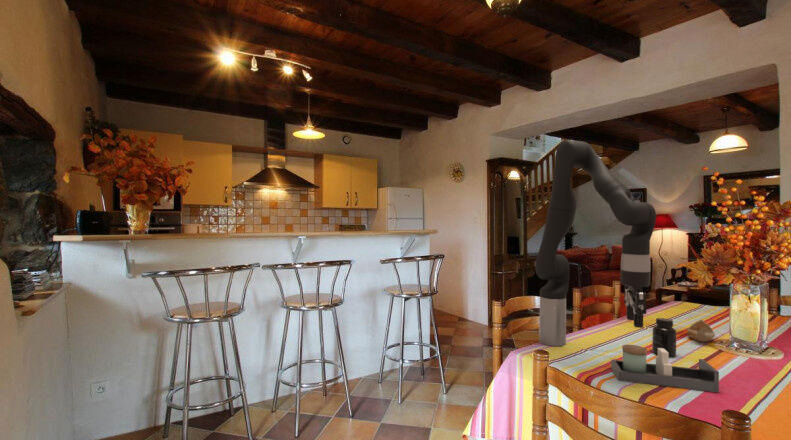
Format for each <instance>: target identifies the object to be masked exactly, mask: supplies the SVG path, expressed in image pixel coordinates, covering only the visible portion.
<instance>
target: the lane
mask: <svg viewBox="0 0 791 440" xmlns="http://www.w3.org/2000/svg"><path fill="white" fill-rule="evenodd" d="M610 367H611V370H612V372H613V371H614V372H613V374H614V373H615V374H614V375H615V377H616V379H617V380H618V381H622V382H629V383H639V384H644V385H645V384H646V385H655V386H661V387H662V386H663V387H670V388H678V389H686V390H693V391H695V390H696V391H702V392H709V393H710V392H711V393H719V391H720V390H719V389H720V388H719V387H720V384H719V382H720V372H719V371H718V370H717V369H716V368H714V367H713V366H712V365H711V364H710V363H708V361H706V360H705V359H703V358H699V359H698V368H693V367H685V366H674V365H672V376H665V375H658V374H657V373H656V363H649V362H648V363H647V362H646V373H639V372H630V371H623V359H622V360H621V359H610Z"/></svg>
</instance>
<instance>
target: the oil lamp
mask: <svg viewBox="0 0 791 440" xmlns="http://www.w3.org/2000/svg"><path fill="white" fill-rule="evenodd" d="M686 332H687V334H688V336H689V337H690V338H691V339H692V340H694V341H697V342H703V343H704V342H705V343H707V342H710V341H712V340H713V339H714V338H715V335H716V332H714V330H713V328H712V327H711V326H710V325H709V324H708V323H707V322H705V321H704V320H703V319H700V320H698V321H696V322H694V323H693V324H691V325H690V326H689V327H686Z"/></svg>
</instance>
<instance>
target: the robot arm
mask: <svg viewBox="0 0 791 440" xmlns="http://www.w3.org/2000/svg"><path fill="white" fill-rule="evenodd" d="M553 167H554V169H553V180H552V187H551V191H550V192H551V193H550V198H549V203H548V208H547V214H546V220H545V225H544V229H543V230H544V231H543V234H542V240H541V243H540V246H539V251H538V252H537V255H536V260H535V274H536V275H537V276H538V278H539V279H541V280H548V281H547V283H546V284H545V285H544V286H543V287H541V288H540V290H539V316H538V317H539V319H538V320H539V322H538V323H539V324H538V325H539V327H538V328H539V329H538V333H539V334H538V338H539V339H538V340H539V341H538V342H539V344H543V345H545V346H551V347H562V346H563V347H564V346H566V344H567V342H566V341H567V294H568V291H569V286H570V274H571V273H570V270H571V269H570V262H569V261H568V258H567V257H566V256H564V255H563V254H560V253H558V249H559V246H560V244H561V242H562V240H563V239H564V237H565V236H566V235H567V233H569V231H570V230H571V228H572V226H573V224H574V222H575V221H574V220H575V216H576V211H577V198H576V197H575V193H574V191H573V187H572V175H573V174H572V173H573V169H574V168H580V169H582V170H583V171H584V172H586V173H587V174H588V175H589V176H590V178H591V181H592V184H593V187H594V189H595V191H596V192H597V193H598V194H599V196H600V197H601V198H602V199H603V200H604V201H605V202H606V203H607V204H608V205H609V208H610V210H611V211H612V213H613V215H614V217H615V218H616V220H617V221H618V222H619V223H620V224H623V225H625V226H629V227H631V230H630V232H629V233H627V234H624V235H623V237H622V241H621V242H622V243H621V259H620V284H621V285H623V286H624V300H623V301H624V302H623V303H624V304H625V307H626V319H627V321H628V320H629V321H633V326H634V328H640V329H641V328H644V315H646V314H647V312H648V311H647V292H643V288H646V287H647V288H648V287H650V286H651V266H652V265H651V257H650V252H651V251H650V249H651V247H650V246H651V245H650V244H651V238H652V236H653V232H654V230H655V229H654V228H655V225H656V221H657V212H656V209H655V207H654V206H653V205H652V204H651V203H649V202H645V201H644V202H642V201H641V202H639V201H632V200H631V197H632V192H631V191H630V189H629V188H628V187H627V186H626V184H624V183H623V182H622V181H621V180H620V179H619V178H617V177H616V176H615V175H614V174H613V173H612V172H611V171H610V169H609V168H608V167H607V166H606V164H605V163H604V162H603V160H602V159H601V157H600V156H599V155H598V153H597V152H596V151H595V149H594V148H593V147H592V146H591V145H590V144H589V143H588V142H585V141H582V140H581V141H580V140H573V139H565V140H562V141H561V142H560V143H559V144H558V147H557V149H556V151H555V157H554V166H553Z"/></svg>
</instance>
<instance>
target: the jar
mask: <svg viewBox="0 0 791 440" xmlns="http://www.w3.org/2000/svg"><path fill="white" fill-rule="evenodd" d="M621 348H622V349H621V350H622V361H623V371H630V372H639V373H646V363H647V354H648V349H647V348H646V347H643V346H640V345H636V344H623V345H622V346H621Z"/></svg>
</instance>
